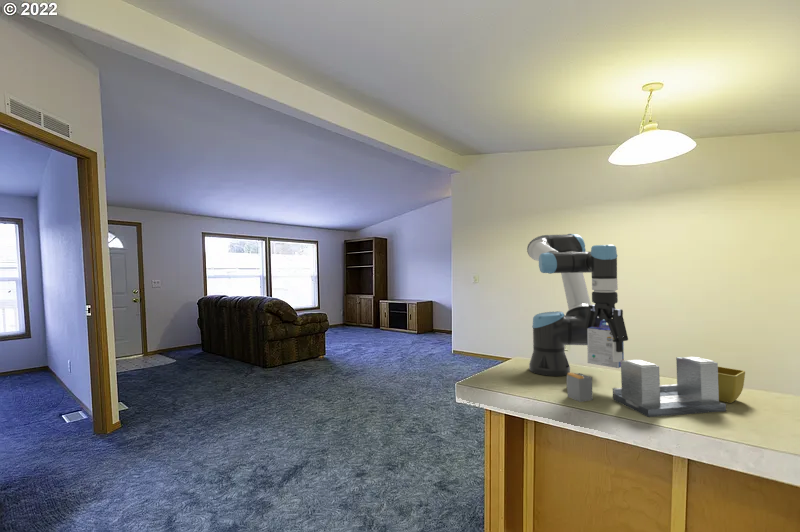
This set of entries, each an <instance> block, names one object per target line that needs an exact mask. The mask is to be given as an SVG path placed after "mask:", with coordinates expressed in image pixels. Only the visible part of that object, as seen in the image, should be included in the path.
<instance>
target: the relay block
mask: <svg viewBox="0 0 800 532" xmlns="http://www.w3.org/2000/svg"><path fill="white" fill-rule="evenodd" d="M575 373H576V372H572V371H570V373H568V375H566V389H567V397H568V398H570V399H571V398H572V400H574V401H576V402H578V401H579V403H581V402H587V401H589V402H590V401H593V397H594V396H593V377H591V376H589V375H586V374H583V373H576V374H575Z"/></svg>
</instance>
